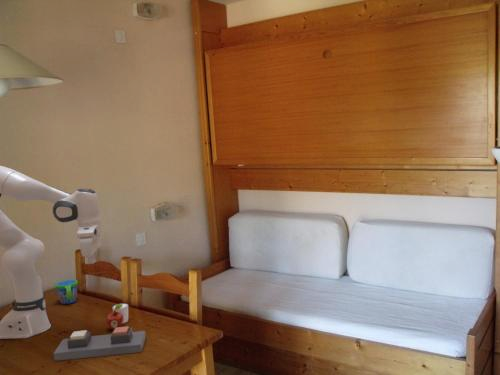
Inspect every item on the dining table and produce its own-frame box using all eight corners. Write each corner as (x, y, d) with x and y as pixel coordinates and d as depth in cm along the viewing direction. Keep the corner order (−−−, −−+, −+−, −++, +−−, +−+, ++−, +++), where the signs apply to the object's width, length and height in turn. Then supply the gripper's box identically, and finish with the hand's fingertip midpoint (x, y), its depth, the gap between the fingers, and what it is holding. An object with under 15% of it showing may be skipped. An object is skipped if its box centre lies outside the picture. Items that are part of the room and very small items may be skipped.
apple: (117, 332, 208) (115, 309, 207) (104, 331, 211) (101, 308, 210) (128, 325, 216) (126, 303, 214) (114, 324, 218) (112, 302, 217)
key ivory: (71, 344, 189) (70, 336, 189) (74, 338, 194) (73, 331, 194) (84, 342, 190) (83, 335, 189) (87, 337, 195) (86, 330, 194)
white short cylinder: (131, 318, 224) (130, 303, 223) (126, 324, 217) (125, 308, 217) (117, 318, 225) (115, 303, 224) (111, 324, 218) (109, 309, 217)
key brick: (114, 340, 191) (113, 332, 190) (116, 334, 196) (115, 327, 195) (127, 338, 191) (126, 331, 191) (129, 333, 196) (128, 326, 196)
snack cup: (57, 299, 258) (55, 280, 257) (79, 295, 261) (76, 276, 260) (57, 308, 243) (55, 288, 242) (80, 304, 247) (78, 284, 246)
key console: (54, 361, 186) (52, 345, 185) (64, 346, 198) (62, 331, 198) (141, 352, 188) (140, 336, 187) (145, 337, 201) (144, 323, 200)
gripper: (88, 224, 212) (91, 256, 213) (75, 234, 191) (79, 269, 193) (103, 223, 212) (106, 255, 214) (92, 233, 192) (96, 268, 193)
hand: (93, 262), depth 203 cm, fingers closed
